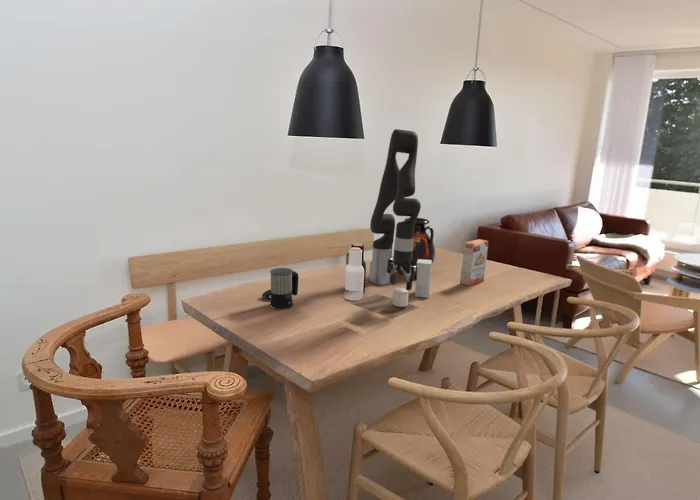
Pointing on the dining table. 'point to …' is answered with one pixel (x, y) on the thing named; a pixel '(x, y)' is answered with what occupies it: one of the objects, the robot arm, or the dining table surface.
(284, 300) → the milk frother
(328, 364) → the dining table surface
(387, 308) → the post board
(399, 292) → the cap
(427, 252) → the amphora vase
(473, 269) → the cracker box
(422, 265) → the skincare box
